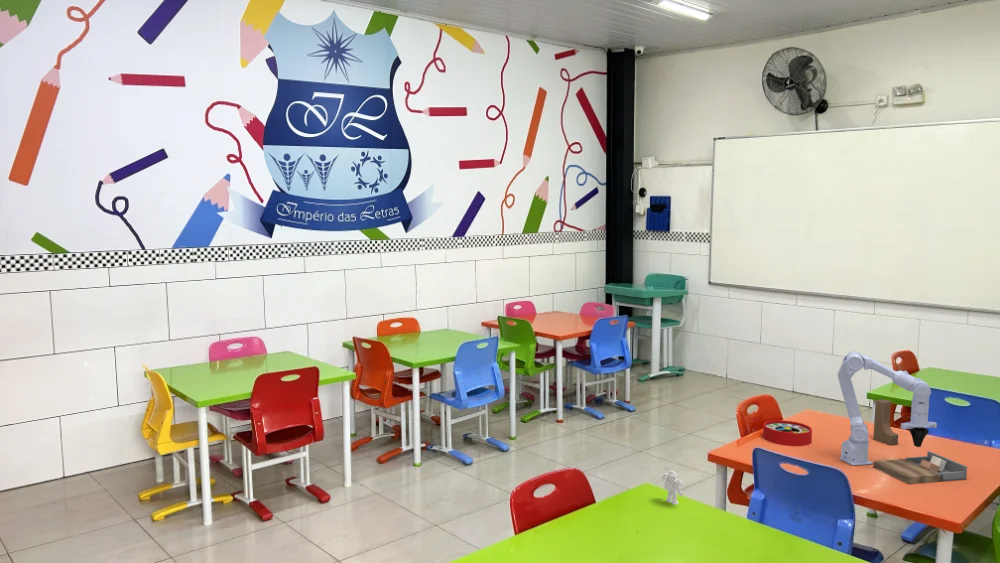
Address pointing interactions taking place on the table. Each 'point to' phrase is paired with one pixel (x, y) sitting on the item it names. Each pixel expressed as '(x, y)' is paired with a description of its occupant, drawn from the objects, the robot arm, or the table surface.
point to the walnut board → (907, 471)
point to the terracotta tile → (930, 465)
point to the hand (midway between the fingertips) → (917, 446)
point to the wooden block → (883, 423)
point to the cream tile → (938, 462)
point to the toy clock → (787, 433)
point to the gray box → (950, 470)
